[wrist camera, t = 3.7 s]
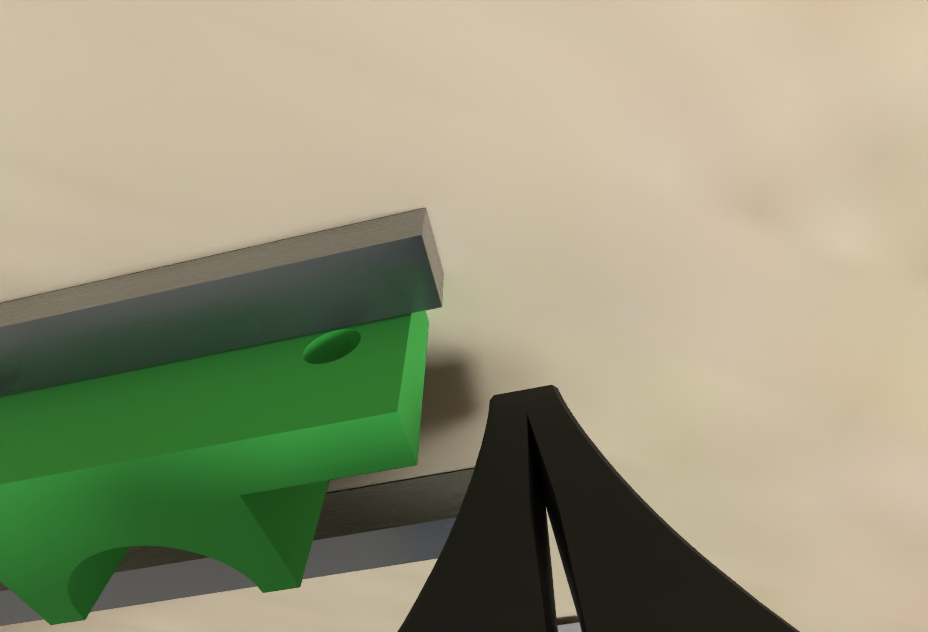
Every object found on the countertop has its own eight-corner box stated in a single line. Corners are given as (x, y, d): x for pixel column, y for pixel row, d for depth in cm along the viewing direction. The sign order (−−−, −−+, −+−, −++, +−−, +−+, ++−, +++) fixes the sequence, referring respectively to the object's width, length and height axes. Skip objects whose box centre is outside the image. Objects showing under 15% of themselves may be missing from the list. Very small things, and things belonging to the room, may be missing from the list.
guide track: (505, 502, 15) (510, 555, 13) (-143, 607, 17) (-201, 663, 15) (425, 205, 10) (420, 236, 9) (-447, 401, 12) (-570, 452, 11)
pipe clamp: (68, 471, 14) (-84, 646, 10) (-24, 366, 12) (-254, 529, 8) (456, 403, 13) (454, 571, 9) (418, 276, 11) (395, 416, 7)
